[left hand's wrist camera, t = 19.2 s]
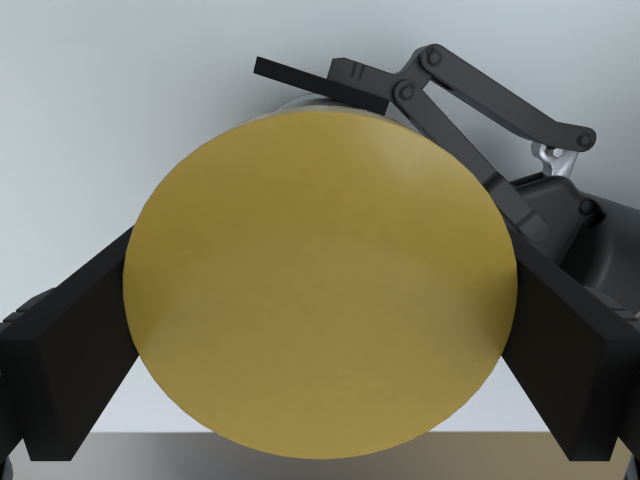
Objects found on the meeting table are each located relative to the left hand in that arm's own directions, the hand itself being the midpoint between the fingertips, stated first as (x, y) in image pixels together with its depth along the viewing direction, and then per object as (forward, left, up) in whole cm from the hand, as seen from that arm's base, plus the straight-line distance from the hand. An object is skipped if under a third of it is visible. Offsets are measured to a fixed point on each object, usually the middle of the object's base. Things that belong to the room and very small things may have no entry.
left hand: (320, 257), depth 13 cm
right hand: (-5, 0, -10) cm, 11 cm away
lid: (0, 0, +3) cm, 3 cm away
